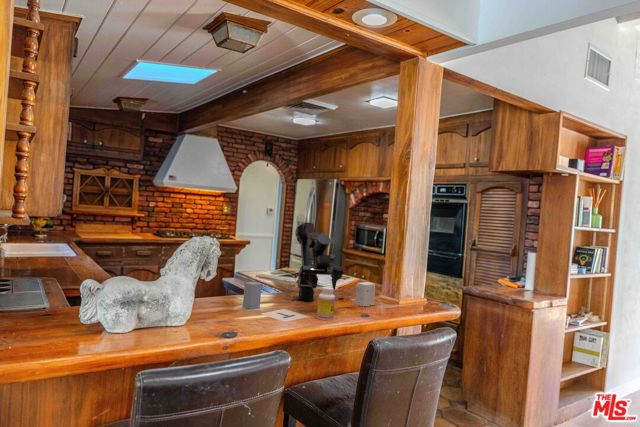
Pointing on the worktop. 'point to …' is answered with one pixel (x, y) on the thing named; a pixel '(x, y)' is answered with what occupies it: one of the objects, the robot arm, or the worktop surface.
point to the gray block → (252, 295)
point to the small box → (365, 294)
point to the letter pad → (284, 315)
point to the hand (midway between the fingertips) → (324, 289)
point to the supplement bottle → (326, 304)
